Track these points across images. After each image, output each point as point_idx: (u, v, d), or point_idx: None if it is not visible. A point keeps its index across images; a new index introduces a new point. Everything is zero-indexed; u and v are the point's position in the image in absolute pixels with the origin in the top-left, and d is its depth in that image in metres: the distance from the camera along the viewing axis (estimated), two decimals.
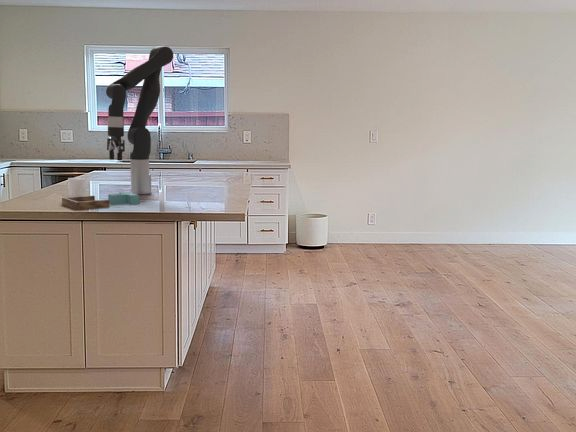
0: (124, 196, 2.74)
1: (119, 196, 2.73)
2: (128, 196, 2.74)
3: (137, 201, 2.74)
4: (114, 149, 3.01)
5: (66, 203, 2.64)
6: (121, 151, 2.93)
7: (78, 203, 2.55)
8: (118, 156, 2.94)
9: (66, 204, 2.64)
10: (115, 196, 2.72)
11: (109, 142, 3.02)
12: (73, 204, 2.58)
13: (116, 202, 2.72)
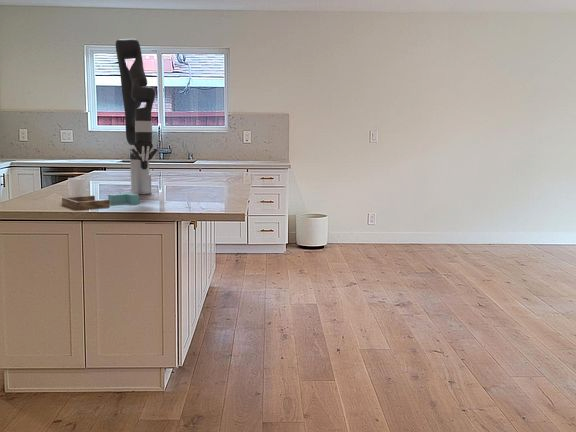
0: (124, 196, 2.74)
1: (119, 196, 2.73)
2: (128, 196, 2.74)
3: (137, 201, 2.74)
4: None
5: (66, 203, 2.64)
6: None
7: (78, 203, 2.55)
8: (146, 165, 2.80)
9: (66, 204, 2.64)
10: (115, 196, 2.72)
11: (135, 152, 2.77)
12: (73, 204, 2.58)
13: (116, 202, 2.72)
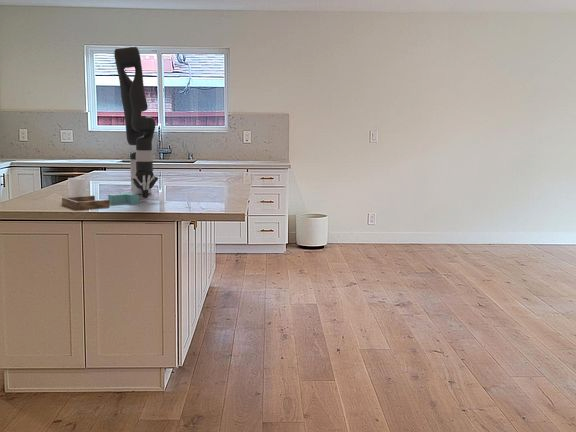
0: (124, 196, 2.74)
1: (119, 196, 2.73)
2: (128, 196, 2.74)
3: (137, 201, 2.74)
4: None
5: (66, 203, 2.64)
6: (150, 187, 2.84)
7: (78, 203, 2.55)
8: (147, 193, 2.83)
9: (66, 204, 2.64)
10: (115, 196, 2.72)
11: (136, 181, 2.79)
12: (73, 204, 2.58)
13: (116, 202, 2.72)
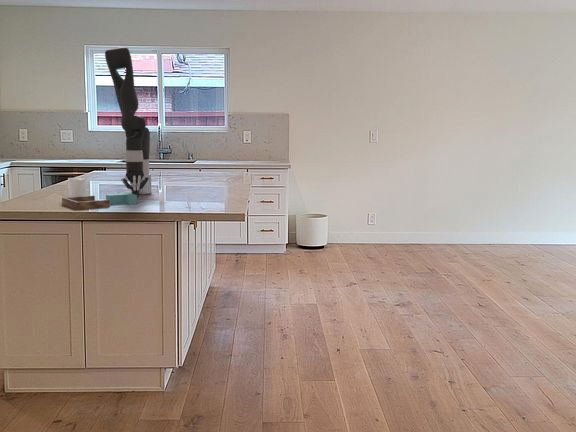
0: (122, 196, 2.74)
1: (117, 196, 2.72)
2: (126, 197, 2.73)
3: (135, 201, 2.74)
4: None
5: (66, 203, 2.64)
6: None
7: (78, 203, 2.55)
8: (137, 194, 2.79)
9: (66, 204, 2.64)
10: (113, 196, 2.71)
11: None
12: (73, 204, 2.58)
13: (114, 202, 2.72)
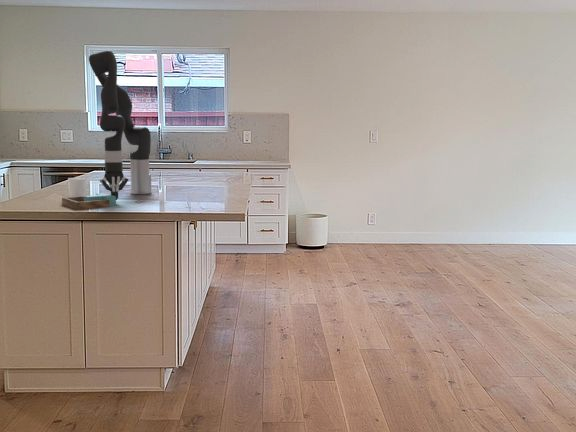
0: (100, 198, 2.67)
1: (95, 198, 2.66)
2: (104, 198, 2.67)
3: (114, 203, 2.67)
4: None
5: (66, 203, 2.64)
6: (120, 189, 2.74)
7: (78, 203, 2.55)
8: (117, 195, 2.73)
9: (66, 204, 2.64)
10: (91, 198, 2.65)
11: (105, 182, 2.69)
12: (73, 204, 2.58)
13: None
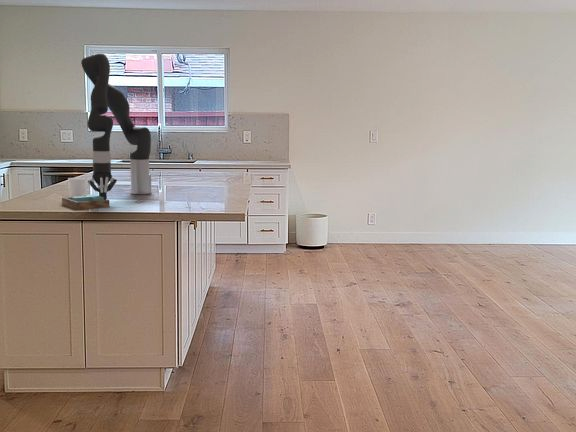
0: (88, 199, 2.64)
1: (83, 199, 2.63)
2: (92, 199, 2.64)
3: None
4: None
5: (66, 203, 2.64)
6: (109, 190, 2.71)
7: (78, 203, 2.55)
8: (105, 196, 2.70)
9: (66, 204, 2.64)
10: (78, 199, 2.62)
11: (93, 183, 2.66)
12: (73, 204, 2.58)
13: None
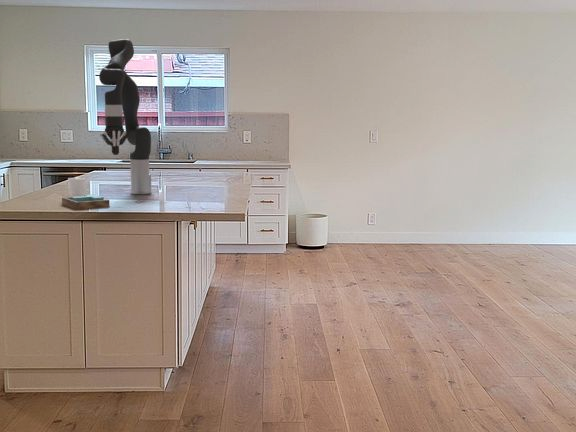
0: (88, 199, 2.64)
1: (83, 199, 2.63)
2: (92, 199, 2.64)
3: None
4: None
5: (66, 203, 2.64)
6: (121, 144, 2.75)
7: (78, 203, 2.55)
8: (117, 150, 2.73)
9: (66, 204, 2.64)
10: (78, 199, 2.61)
11: None
12: (73, 204, 2.58)
13: None
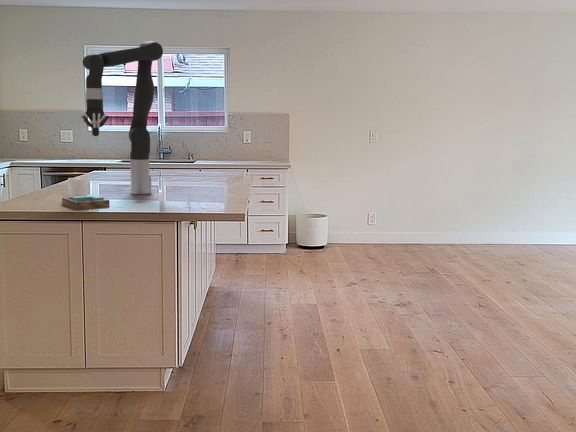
0: (88, 199, 2.64)
1: (83, 199, 2.63)
2: (92, 199, 2.64)
3: None
4: None
5: (66, 203, 2.64)
6: (101, 126, 2.89)
7: (78, 203, 2.55)
8: (97, 131, 2.87)
9: (66, 204, 2.64)
10: (78, 198, 2.61)
11: (86, 118, 2.84)
12: (73, 204, 2.58)
13: None
